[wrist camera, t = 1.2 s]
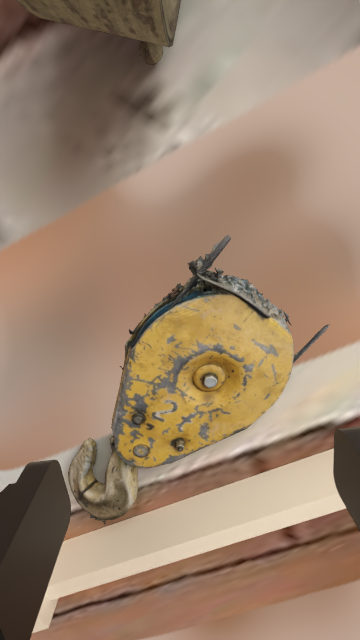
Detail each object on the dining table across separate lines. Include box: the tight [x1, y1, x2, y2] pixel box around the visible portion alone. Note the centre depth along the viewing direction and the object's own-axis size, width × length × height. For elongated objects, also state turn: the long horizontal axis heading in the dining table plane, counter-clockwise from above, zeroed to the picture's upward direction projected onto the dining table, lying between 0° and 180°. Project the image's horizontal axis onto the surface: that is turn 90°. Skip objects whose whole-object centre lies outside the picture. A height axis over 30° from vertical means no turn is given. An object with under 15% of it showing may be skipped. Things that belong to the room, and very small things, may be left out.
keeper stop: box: [32, 448, 346, 633], centre depth 33 cm, size 48×4×7 cm, turn 115°
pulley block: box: [68, 235, 329, 524], centre depth 30 cm, size 14×6×30 cm
